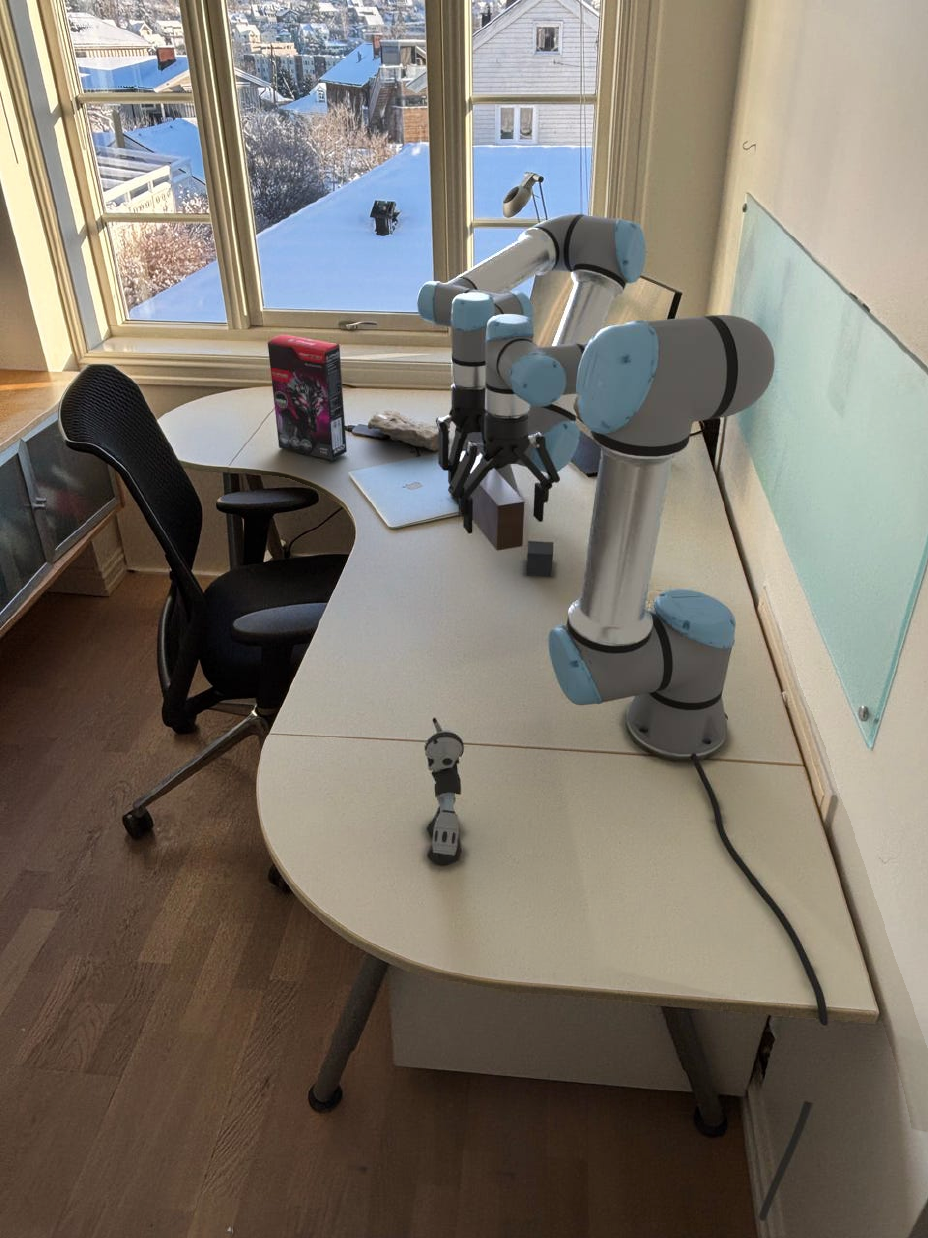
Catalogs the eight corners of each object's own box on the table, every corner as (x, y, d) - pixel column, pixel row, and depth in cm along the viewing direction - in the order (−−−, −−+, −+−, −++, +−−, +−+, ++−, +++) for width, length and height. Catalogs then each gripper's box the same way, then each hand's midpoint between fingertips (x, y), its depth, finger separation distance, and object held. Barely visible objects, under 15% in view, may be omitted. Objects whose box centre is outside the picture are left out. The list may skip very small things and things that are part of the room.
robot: (466, 900, 116) (468, 784, 104) (427, 902, 115) (425, 785, 104) (459, 789, 132) (460, 678, 121) (425, 790, 132) (423, 679, 120)
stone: (352, 434, 231) (356, 410, 229) (373, 426, 244) (377, 403, 242) (430, 458, 227) (435, 434, 225) (447, 448, 241) (452, 426, 238)
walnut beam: (522, 546, 166) (524, 501, 161) (496, 550, 165) (498, 505, 160) (476, 490, 185) (476, 449, 180) (452, 494, 183) (452, 452, 178)
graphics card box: (276, 448, 231) (264, 340, 216) (293, 439, 236) (282, 332, 221) (333, 462, 225) (324, 351, 209) (349, 452, 230) (341, 343, 214)
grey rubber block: (551, 576, 181) (553, 554, 178) (526, 575, 182) (527, 553, 179) (552, 563, 185) (553, 541, 183) (527, 562, 186) (528, 540, 183)
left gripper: (509, 371, 174) (505, 483, 187) (418, 381, 169) (420, 496, 182) (525, 384, 168) (520, 499, 181) (431, 395, 163) (432, 513, 176)
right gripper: (565, 395, 161) (557, 505, 173) (429, 412, 154) (431, 525, 165) (584, 410, 155) (575, 522, 167) (443, 428, 148) (444, 544, 160)
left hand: (470, 497), depth 181 cm, fingers closed on walnut beam, 5 cm apart
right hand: (503, 524), depth 166 cm, fingers open, 13 cm apart
